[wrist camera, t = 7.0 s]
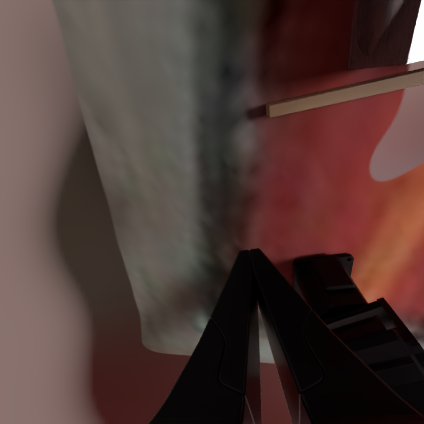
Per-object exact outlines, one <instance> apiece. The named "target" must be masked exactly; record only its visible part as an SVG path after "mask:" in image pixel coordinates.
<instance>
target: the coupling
mask: <svg viewBox="0 0 424 424" xmlns="http://www.w3.org/2000/svg"><path fill="white" fill-rule="evenodd" d="M423 60H424V0H355V4H354V13H353V22H352V31H351V40H350V49H349V58H348V66H347V70H353V69H363V68H373V67H383V66H393V65H403V64H410V63H414V62H419V61H423Z"/></svg>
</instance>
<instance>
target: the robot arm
mask: <svg viewBox="0 0 424 424" xmlns="http://www.w3.org/2000/svg"><path fill="white" fill-rule="evenodd" d="M353 260H354V258H353V256H352V255H351V254H342V255H333V256H325V257H316V258H308V259H299V260H295V261H294V262H293V287H292V285H291V284H290V283H289V282H288V281H287V280H286V278H285V277H284V276H283V275H282V274H281V273H280V272H279V270H278V269H277V268H276V267H275V266H274V265H273V263H272V262H271V261H270V260H269V259H268V258H267V257H266V255H265V254H264V253H263V252H262V251H261V250H260V249H259V248H257V249H251V250H250V251H249V250H242V251H239V253H238V255H237V258H236V260H235V262H234V264H233V267H232V269H231V271H230V273H229V276H228V278H227V280H226V283H225V285H224V287H223V289H222V292H221V294H220V296H219V298H218V301H217V303H216V305H215V308H214V310H213V312H212V314H211V317H210V318H211V319H209V321H208V323H207V326H206V328H205V330H204V332H203V334H202V336H201V338H200V340H199V343H198V344H197V346H196V348H195V350H194V352H193V354H192V355H191V357H190V359H189V361H188V362H187V364H186V366H185V368H184V369H183V371H182V373H181V375H180V376H179V378H178V380H177V381H176V383H175V385H174V386H173V388H172V390H171V392H170V393H169V395H168V397H167V398H166V400H165V402H164V403H163V405H162V406H161V408H160V409H159V411H158V412H157V413H156V415H155V416H154V417H153V419H152V420H151V421H150V422H149V423H148V424H262V413H261V384H260V354H259V325H258V305H259V309H260V312H261V316H262V319H263V323H264V326H265V330H266V333H267V337H268V340H269V344H270V347H271V351H272V354H273V358H274V361H275V365H276V368H277V372H278V375H279V379H280V382H281V386H282V389H283V393H284V396H285V400H286V403H287V407H288V410H289V414H290V417H291V421H292V424H424V349H423V348H422V347H421V345H420V344H419V343H418V341H417V340H416V339H415V337H414V336H413V335H412V333H411V332H410V331H409V330H408V328H407V327H406V326H405V325H404V323H403V322H402V321H401V319H400V318H399V317H398V316H397V314H396V313H395V312H394V311H393V309H392V308H391V307H390V305H389V304H388V303H387V302H386V300H385V299H384V298H380V299H377V301H374V302H371V303H367V301H366V299H365V298H364V296H363V295H362V293H361V292H360V290H359V289H358V287H357V286H356V284H355V283H354V281H353V280H352V278H351V271H352V266H353ZM252 269H253V270H252ZM255 288H256V289H255ZM256 294H257V295H256ZM302 297H303V298H302ZM257 300H258V302H257Z"/></svg>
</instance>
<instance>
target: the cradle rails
mask: <svg viewBox="0 0 424 424" xmlns="http://www.w3.org/2000/svg"><path fill="white" fill-rule="evenodd" d="M422 84H424V68H422V69H418V70H413V71H408V72H404V73H400V74H395V75H391V76H386V77H382V78H378V79H373V80H369V81H364V82H360V83H356V84H351V85H347V86H343V87H338V88H334V89H329V90H325V91H321V92H316V93H312V94H307V95H303V96H299V97H294V98H290V99H285V100H281V101H277V102H272V103H268V104H266V115H267V116H269V117H270V118H271V117H275V116H280V115H284V114H289V113H294V112H298V111H303V110H307V109H312V108H317V107H321V106H326V105H330V104H335V103H339V102H344V101H349V100H353V99H358V98H362V97H367V96H372V95H376V94H381V93H385V92H390V91H395V90H399V89H404V88H408V87H413V86H418V85H422Z"/></svg>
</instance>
